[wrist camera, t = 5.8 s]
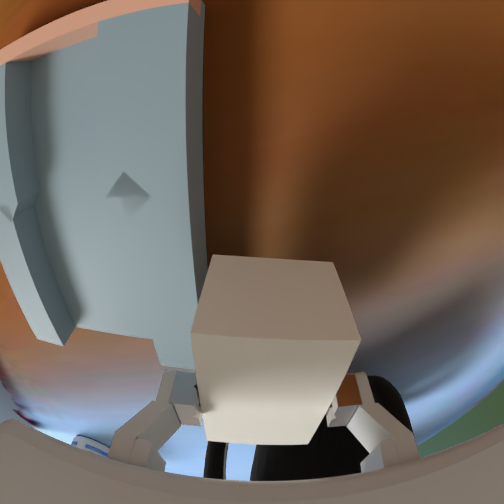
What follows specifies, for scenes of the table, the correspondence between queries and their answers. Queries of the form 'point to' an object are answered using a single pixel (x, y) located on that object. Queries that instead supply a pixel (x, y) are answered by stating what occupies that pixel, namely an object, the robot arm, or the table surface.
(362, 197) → the table surface
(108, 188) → the channel dock
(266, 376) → the cream block
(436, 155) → the table surface
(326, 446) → the mug
